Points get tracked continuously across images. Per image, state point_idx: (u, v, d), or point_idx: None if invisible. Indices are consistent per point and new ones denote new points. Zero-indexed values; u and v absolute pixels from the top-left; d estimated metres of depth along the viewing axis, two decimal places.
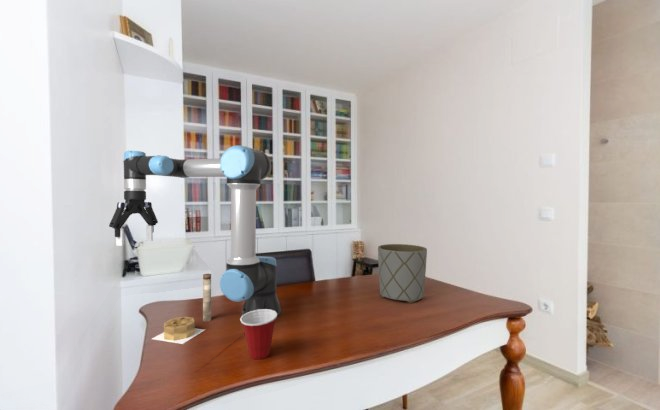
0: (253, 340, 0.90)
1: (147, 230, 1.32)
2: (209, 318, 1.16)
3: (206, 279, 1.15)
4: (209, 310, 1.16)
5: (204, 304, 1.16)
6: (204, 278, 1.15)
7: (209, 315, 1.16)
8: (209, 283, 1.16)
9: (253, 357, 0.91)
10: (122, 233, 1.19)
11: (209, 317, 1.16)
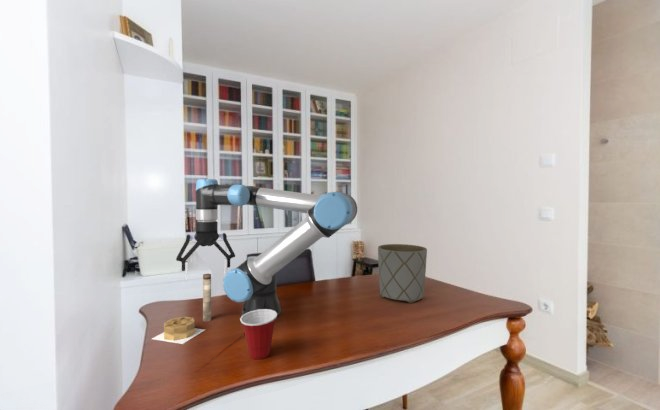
0: (253, 340, 0.90)
1: (224, 264, 1.20)
2: (209, 318, 1.16)
3: (206, 279, 1.15)
4: (209, 310, 1.16)
5: (204, 304, 1.16)
6: (204, 278, 1.15)
7: (209, 315, 1.16)
8: (209, 283, 1.16)
9: (253, 357, 0.91)
10: (186, 267, 1.13)
11: (209, 317, 1.16)
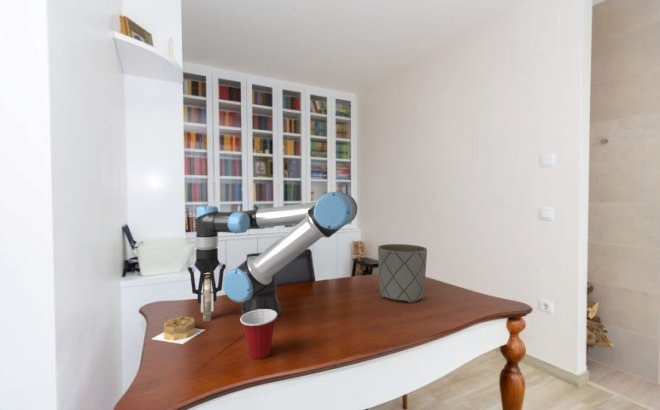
0: (253, 340, 0.90)
1: None
2: (209, 317, 1.16)
3: (206, 279, 1.15)
4: (209, 310, 1.16)
5: (204, 304, 1.16)
6: (204, 278, 1.15)
7: (209, 315, 1.16)
8: (209, 283, 1.16)
9: (253, 357, 0.91)
10: (202, 299, 1.15)
11: (209, 317, 1.16)
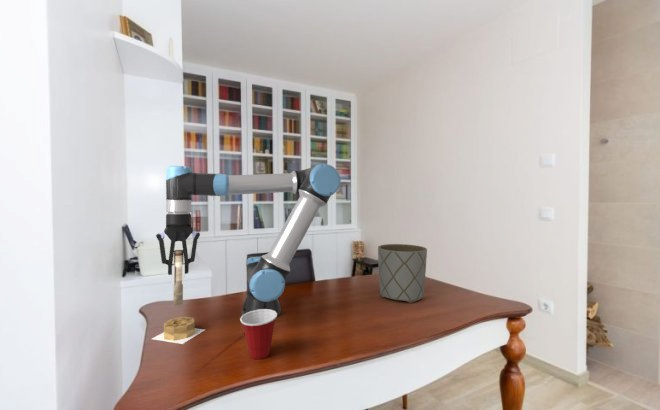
0: (253, 340, 0.90)
1: None
2: (180, 299, 1.04)
3: (177, 255, 1.03)
4: (180, 290, 1.04)
5: (175, 283, 1.03)
6: (175, 254, 1.03)
7: (180, 296, 1.04)
8: (181, 260, 1.04)
9: (253, 357, 0.91)
10: (173, 271, 1.02)
11: (180, 298, 1.04)
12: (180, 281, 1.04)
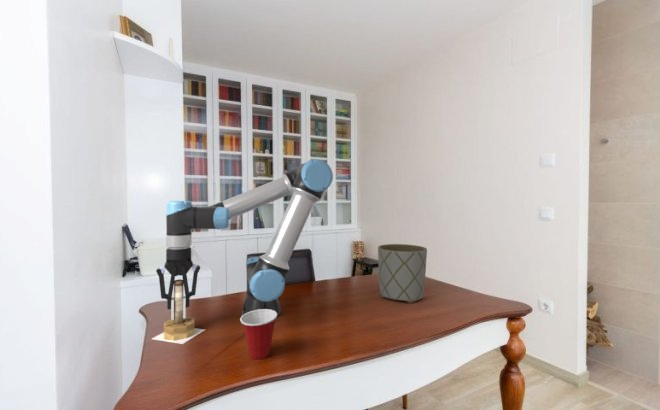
0: (253, 340, 0.90)
1: None
2: None
3: (177, 286, 1.03)
4: (181, 320, 1.04)
5: (175, 313, 1.03)
6: (175, 284, 1.03)
7: None
8: (181, 290, 1.04)
9: (253, 357, 0.91)
10: (172, 305, 1.03)
11: None
12: (180, 311, 1.04)
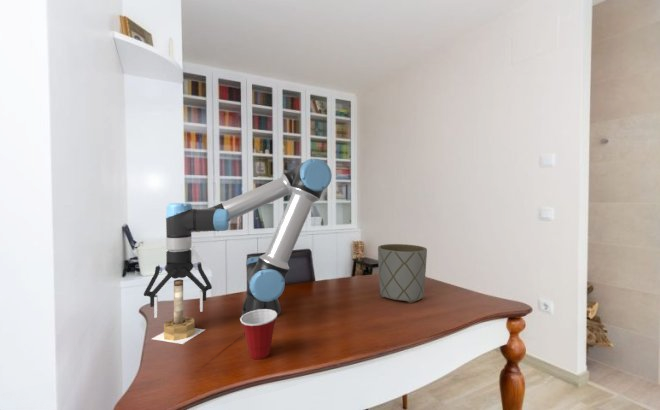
0: (253, 340, 0.90)
1: None
2: None
3: (177, 286, 1.03)
4: (181, 320, 1.04)
5: (175, 313, 1.03)
6: (175, 284, 1.03)
7: None
8: (181, 290, 1.04)
9: (253, 357, 0.91)
10: (155, 303, 1.01)
11: None
12: (180, 311, 1.04)
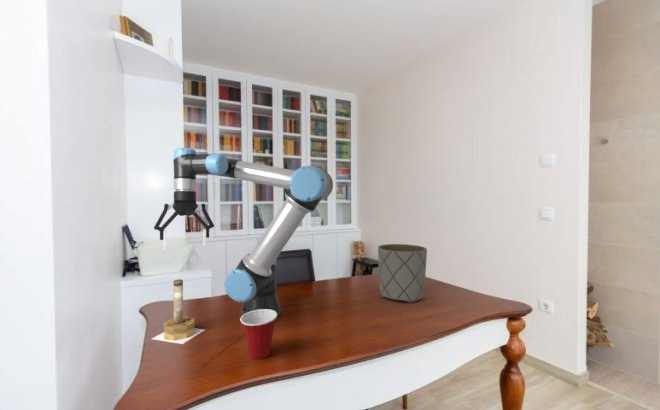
0: (253, 340, 0.90)
1: (203, 234, 1.21)
2: None
3: (177, 286, 1.03)
4: (180, 320, 1.04)
5: (175, 313, 1.03)
6: (175, 284, 1.03)
7: None
8: (180, 290, 1.04)
9: (253, 357, 0.91)
10: (164, 236, 1.13)
11: None
12: (180, 311, 1.04)
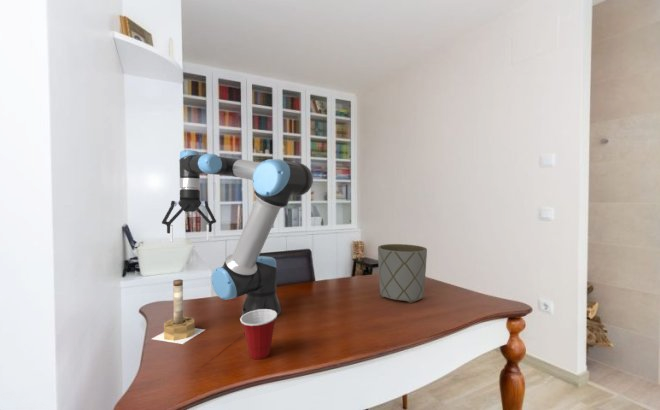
0: (253, 340, 0.90)
1: None
2: None
3: (177, 286, 1.03)
4: (180, 320, 1.04)
5: (175, 314, 1.03)
6: (174, 284, 1.03)
7: None
8: (180, 290, 1.04)
9: (253, 357, 0.91)
10: (171, 230, 1.25)
11: None
12: (180, 311, 1.04)
